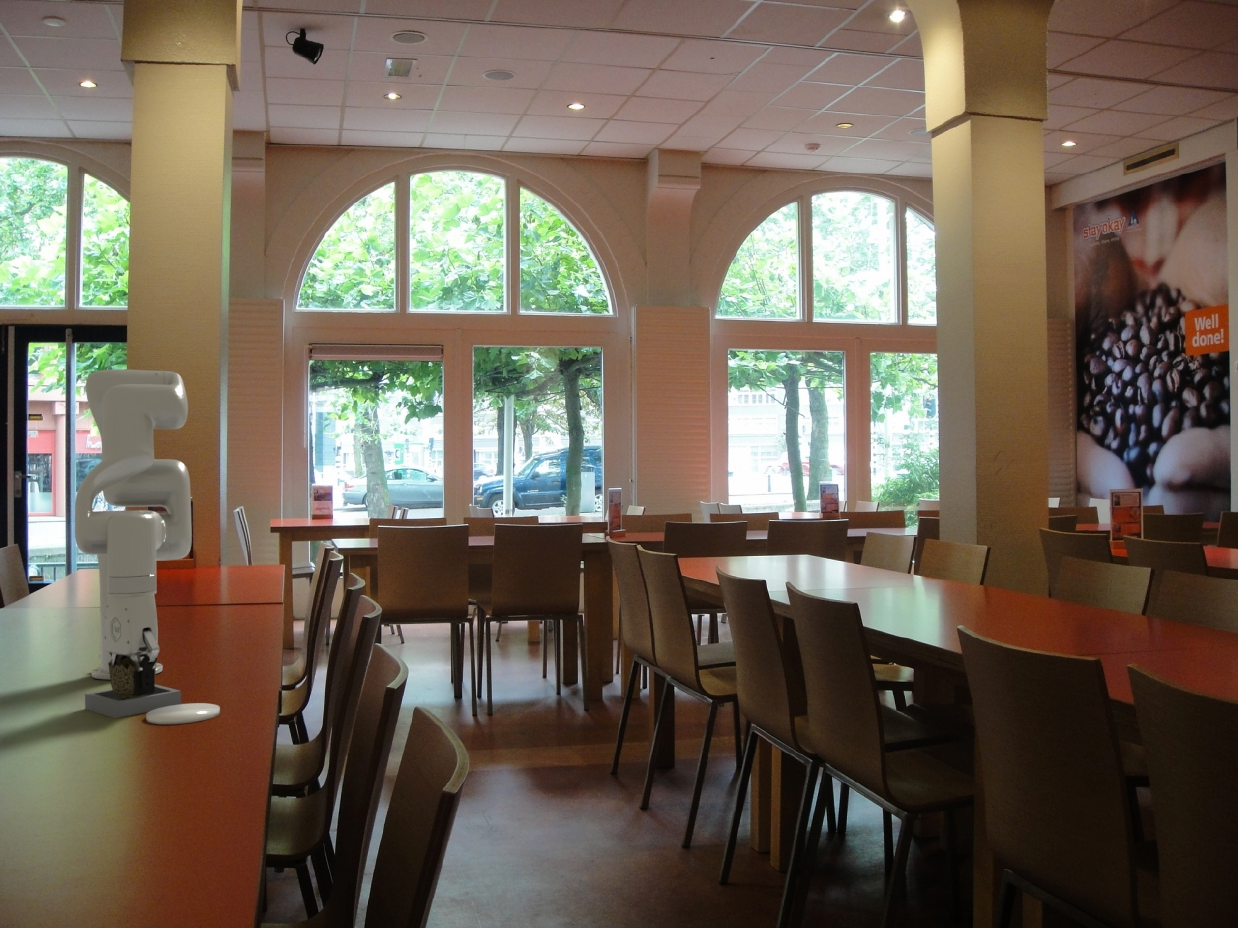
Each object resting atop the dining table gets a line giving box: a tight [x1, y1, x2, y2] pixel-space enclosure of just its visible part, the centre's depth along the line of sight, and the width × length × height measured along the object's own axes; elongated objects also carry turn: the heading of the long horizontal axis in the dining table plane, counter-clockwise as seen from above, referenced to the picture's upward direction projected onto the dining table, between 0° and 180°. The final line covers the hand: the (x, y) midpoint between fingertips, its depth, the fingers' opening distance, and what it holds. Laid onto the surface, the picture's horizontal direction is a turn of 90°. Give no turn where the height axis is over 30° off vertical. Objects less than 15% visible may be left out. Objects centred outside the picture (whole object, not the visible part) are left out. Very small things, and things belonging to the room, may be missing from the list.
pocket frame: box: [84, 683, 182, 719], centre depth 172 cm, size 11×11×2 cm
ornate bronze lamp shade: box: [108, 657, 158, 700], centre depth 172 cm, size 8×7×8 cm
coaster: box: [145, 702, 221, 725], centre depth 165 cm, size 11×11×1 cm
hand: (133, 690), depth 172 cm, fingers closed on ornate bronze lamp shade, 7 cm apart
